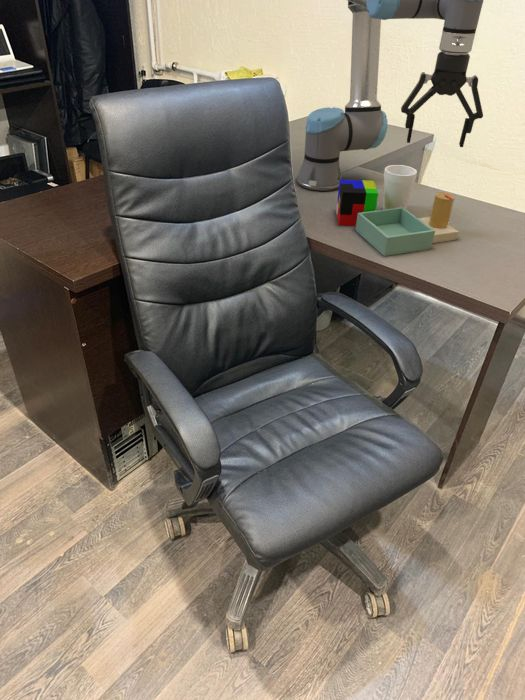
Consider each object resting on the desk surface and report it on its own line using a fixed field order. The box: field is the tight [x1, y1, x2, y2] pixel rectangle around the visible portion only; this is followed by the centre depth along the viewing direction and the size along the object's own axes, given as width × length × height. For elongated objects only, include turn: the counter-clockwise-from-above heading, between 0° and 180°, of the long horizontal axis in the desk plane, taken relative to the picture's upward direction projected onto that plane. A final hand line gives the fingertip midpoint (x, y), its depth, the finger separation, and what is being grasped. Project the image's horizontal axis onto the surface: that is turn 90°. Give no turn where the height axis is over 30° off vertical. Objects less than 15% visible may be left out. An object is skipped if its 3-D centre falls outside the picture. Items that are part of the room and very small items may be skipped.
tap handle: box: [429, 191, 456, 228], centre depth 147 cm, size 5×5×9 cm
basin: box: [354, 207, 435, 257], centre depth 146 cm, size 17×15×5 cm
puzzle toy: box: [335, 179, 379, 227], centre depth 155 cm, size 10×10×10 cm
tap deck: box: [417, 216, 459, 244], centre depth 150 cm, size 11×10×3 cm
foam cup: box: [382, 164, 418, 210], centre depth 158 cm, size 10×9×13 cm
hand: (434, 143), depth 139 cm, fingers open, 13 cm apart
